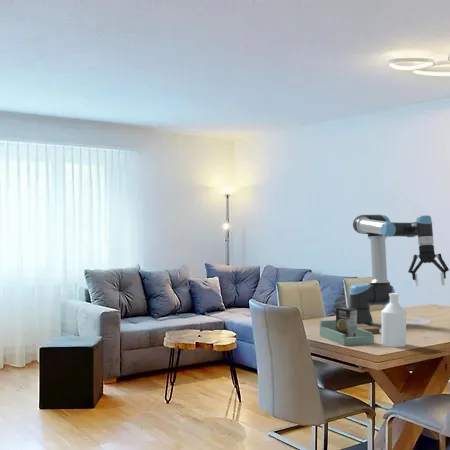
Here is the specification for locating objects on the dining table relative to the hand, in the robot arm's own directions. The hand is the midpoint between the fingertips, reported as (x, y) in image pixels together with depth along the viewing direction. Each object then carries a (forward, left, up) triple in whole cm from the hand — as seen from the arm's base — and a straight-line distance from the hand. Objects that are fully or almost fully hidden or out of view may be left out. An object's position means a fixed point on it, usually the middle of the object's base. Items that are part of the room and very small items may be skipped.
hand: (429, 285), depth 307 cm
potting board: (-28, -25, -27) cm, 46 cm away
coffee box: (-10, -43, -28) cm, 52 cm away
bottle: (+8, -27, -28) cm, 39 cm away
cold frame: (-10, -43, -27) cm, 52 cm away
